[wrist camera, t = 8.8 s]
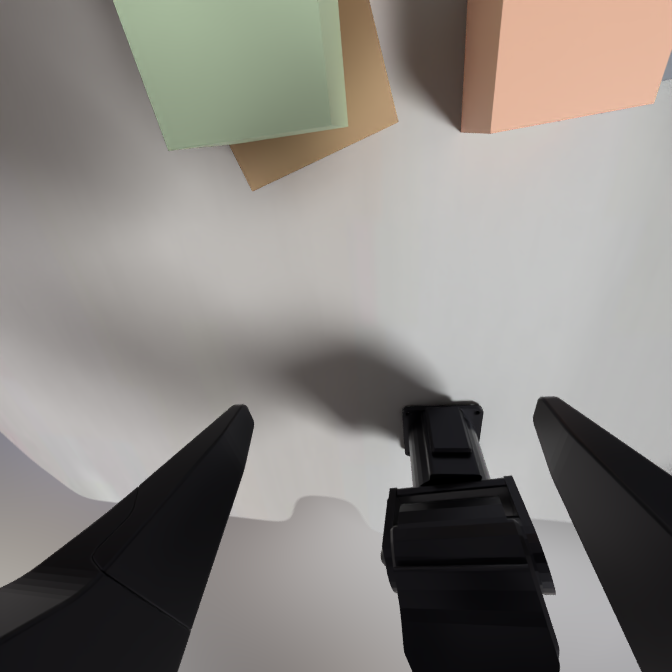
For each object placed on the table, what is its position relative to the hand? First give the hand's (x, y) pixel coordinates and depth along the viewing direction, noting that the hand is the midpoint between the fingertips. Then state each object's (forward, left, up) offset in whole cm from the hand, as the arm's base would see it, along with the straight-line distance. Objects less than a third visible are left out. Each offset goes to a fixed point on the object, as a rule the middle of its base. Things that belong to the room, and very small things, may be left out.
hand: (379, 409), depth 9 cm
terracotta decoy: (+9, -7, -12) cm, 17 cm away
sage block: (+10, +3, -8) cm, 14 cm away
